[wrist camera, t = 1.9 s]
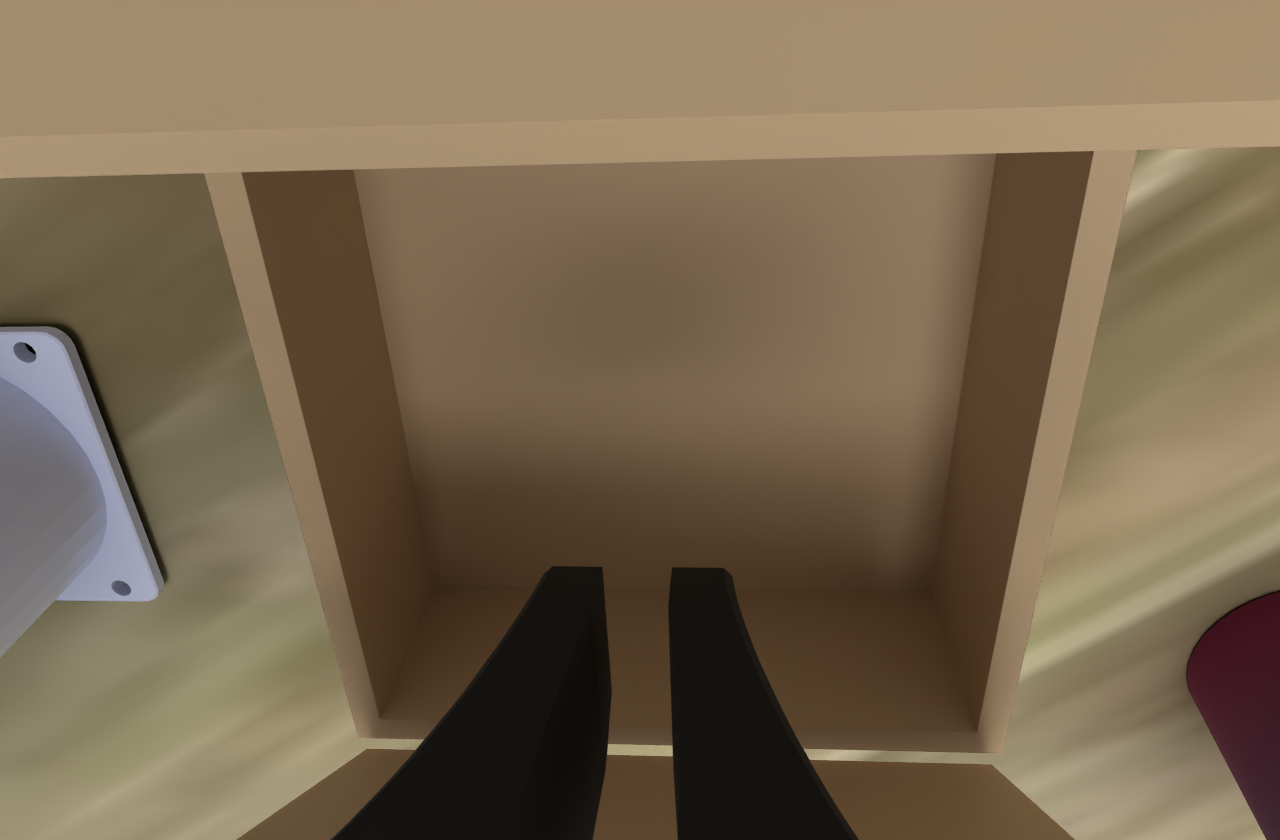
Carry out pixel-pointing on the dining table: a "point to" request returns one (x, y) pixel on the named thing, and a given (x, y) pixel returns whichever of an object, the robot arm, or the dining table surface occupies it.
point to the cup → (1245, 701)
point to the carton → (684, 415)
